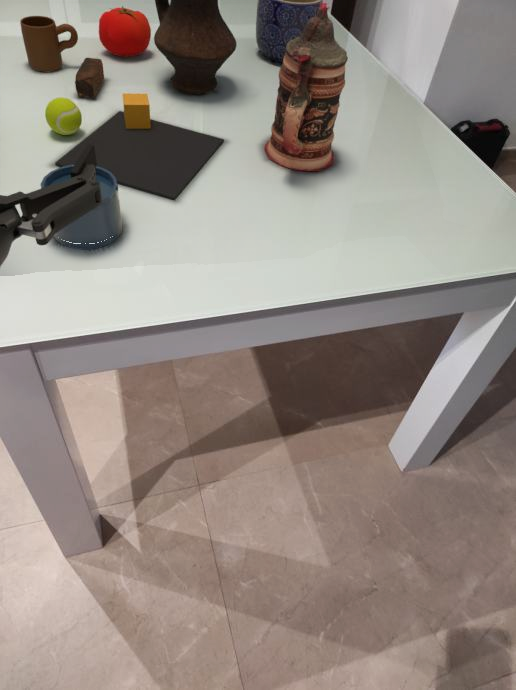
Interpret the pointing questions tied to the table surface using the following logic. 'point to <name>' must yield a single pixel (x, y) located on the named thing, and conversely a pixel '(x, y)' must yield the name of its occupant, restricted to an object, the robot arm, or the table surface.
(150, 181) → the mat
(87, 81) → the brick
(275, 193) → the table surface
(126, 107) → the block
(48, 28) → the mug
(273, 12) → the planter
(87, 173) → the robot arm
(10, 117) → the table surface
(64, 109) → the tennis ball
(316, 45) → the beer stein
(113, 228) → the blue paint bucket
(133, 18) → the tomato
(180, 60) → the jug
